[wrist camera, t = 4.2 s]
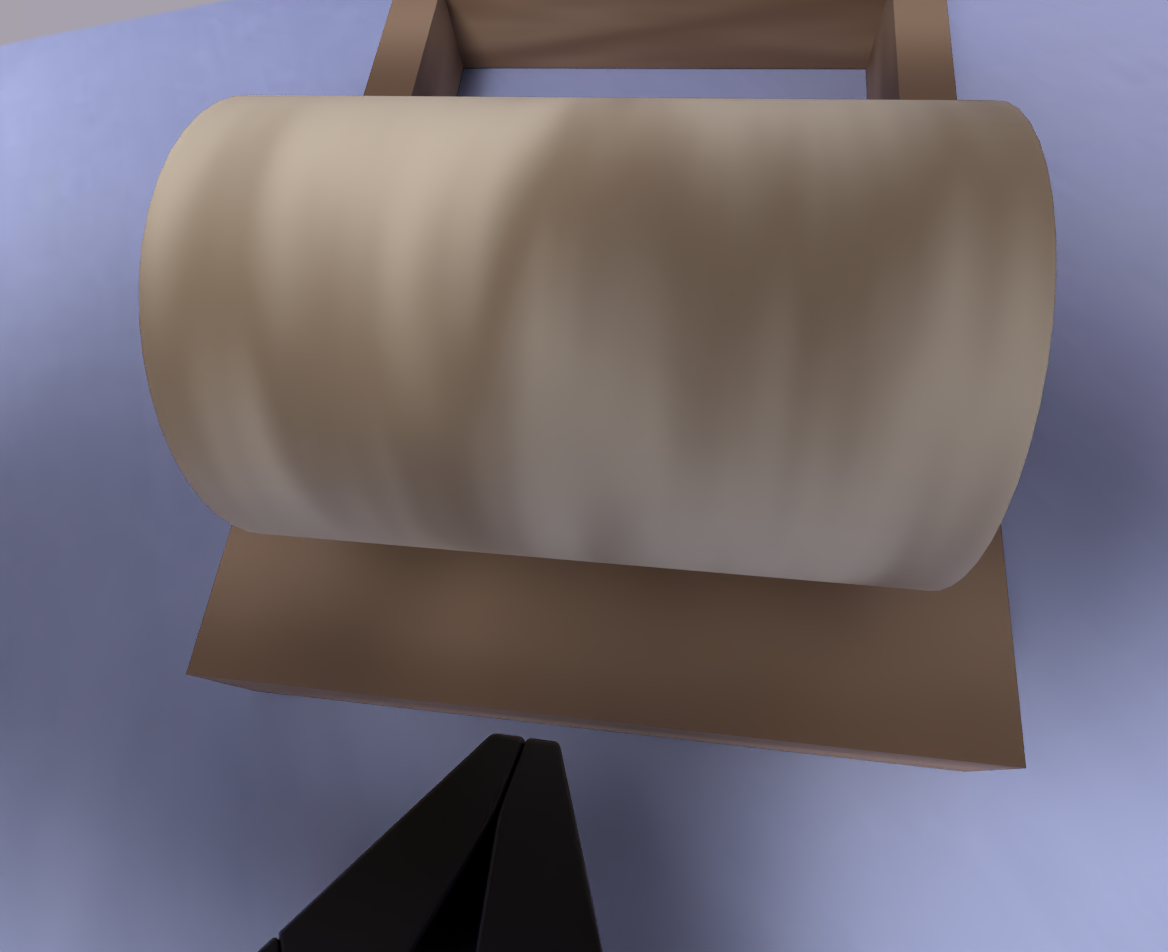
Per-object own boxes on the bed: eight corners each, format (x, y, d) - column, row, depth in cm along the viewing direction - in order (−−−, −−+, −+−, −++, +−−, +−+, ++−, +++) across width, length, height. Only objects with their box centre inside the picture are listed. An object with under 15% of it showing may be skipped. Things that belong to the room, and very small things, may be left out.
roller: (867, 579, 17) (1046, 611, 9) (353, 536, 18) (102, 529, 10) (884, 231, 17) (1065, -35, 9) (387, 217, 19) (177, -23, 11)
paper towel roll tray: (964, 771, 17) (1025, 768, 14) (254, 690, 19) (186, 673, 16) (910, 47, 25) (942, -43, 23) (428, 48, 27) (403, -35, 25)
